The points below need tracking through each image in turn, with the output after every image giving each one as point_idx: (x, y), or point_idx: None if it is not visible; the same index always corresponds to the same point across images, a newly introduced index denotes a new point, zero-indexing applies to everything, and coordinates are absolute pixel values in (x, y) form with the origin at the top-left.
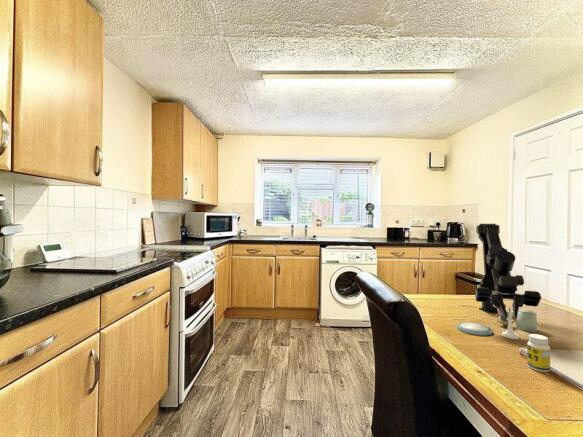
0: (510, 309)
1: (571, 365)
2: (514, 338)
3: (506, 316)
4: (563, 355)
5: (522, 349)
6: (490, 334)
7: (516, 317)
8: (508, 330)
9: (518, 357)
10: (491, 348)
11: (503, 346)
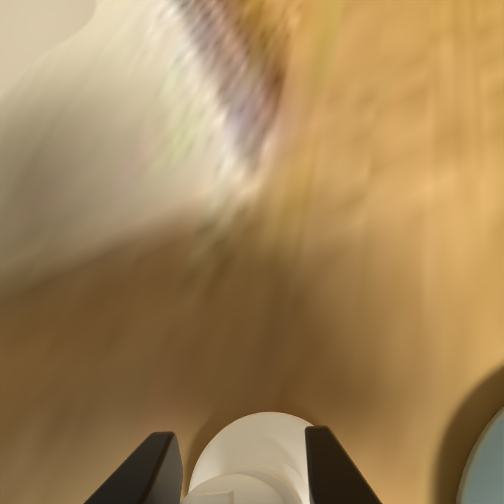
0: (220, 498)
1: (56, 46)
2: (248, 415)
3: (320, 428)
4: (16, 176)
5: (246, 166)
6: (474, 446)
7: (159, 433)
8: (289, 482)
9: (303, 25)
10: (454, 89)
11: (370, 166)
